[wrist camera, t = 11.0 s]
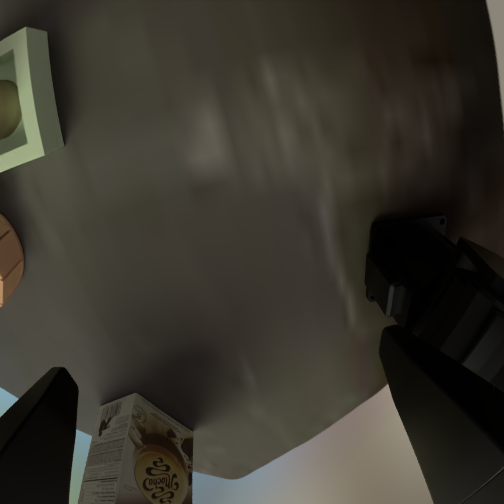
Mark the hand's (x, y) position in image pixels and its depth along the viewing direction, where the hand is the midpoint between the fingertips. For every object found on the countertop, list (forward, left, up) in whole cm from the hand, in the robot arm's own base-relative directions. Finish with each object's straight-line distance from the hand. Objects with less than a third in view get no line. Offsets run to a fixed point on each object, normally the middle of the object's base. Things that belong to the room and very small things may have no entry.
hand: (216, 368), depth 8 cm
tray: (+13, -9, -13) cm, 21 cm away
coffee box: (+12, +22, -13) cm, 28 cm away
